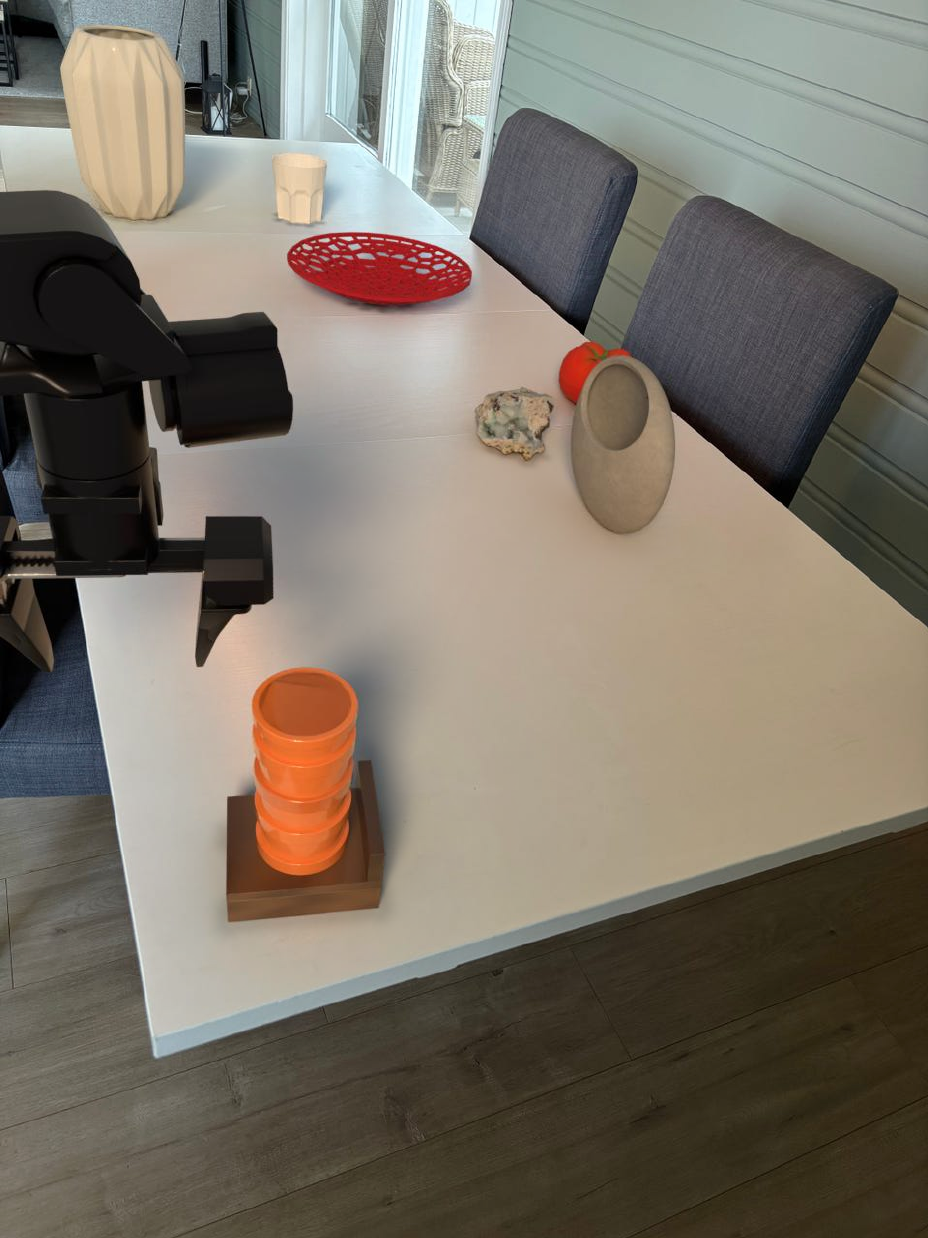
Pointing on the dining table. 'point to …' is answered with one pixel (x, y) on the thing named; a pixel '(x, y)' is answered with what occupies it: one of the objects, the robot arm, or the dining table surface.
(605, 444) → the planter
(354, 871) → the bookend
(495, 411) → the mineral specimen
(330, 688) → the orange ribbed tumbler
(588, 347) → the tomato
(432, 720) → the dining table surface
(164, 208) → the vase
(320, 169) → the cup
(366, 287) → the bowl
